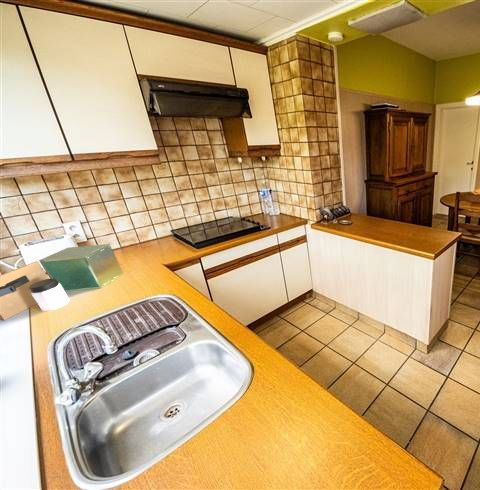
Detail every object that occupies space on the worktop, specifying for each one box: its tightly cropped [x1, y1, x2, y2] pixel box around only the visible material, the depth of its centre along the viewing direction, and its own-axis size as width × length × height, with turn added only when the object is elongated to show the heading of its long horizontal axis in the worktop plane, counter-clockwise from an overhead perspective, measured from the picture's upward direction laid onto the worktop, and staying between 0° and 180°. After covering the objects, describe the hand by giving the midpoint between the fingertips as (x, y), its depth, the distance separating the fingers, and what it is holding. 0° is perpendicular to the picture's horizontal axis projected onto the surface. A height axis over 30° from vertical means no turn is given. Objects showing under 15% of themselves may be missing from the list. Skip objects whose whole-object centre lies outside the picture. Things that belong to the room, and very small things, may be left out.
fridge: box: [38, 243, 124, 293], centre depth 135 cm, size 15×20×18 cm
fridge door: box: [0, 261, 50, 321], centre depth 118 cm, size 6×20×18 cm, turn 177°
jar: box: [29, 278, 70, 312], centre depth 118 cm, size 9×8×12 cm
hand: (7, 280), depth 104 cm, fingers open, 13 cm apart
